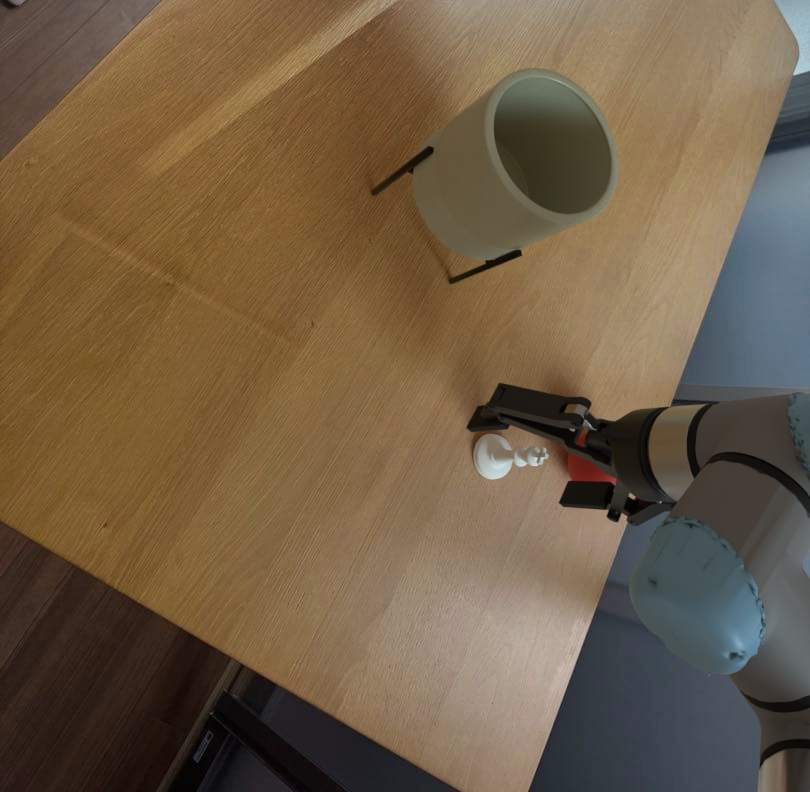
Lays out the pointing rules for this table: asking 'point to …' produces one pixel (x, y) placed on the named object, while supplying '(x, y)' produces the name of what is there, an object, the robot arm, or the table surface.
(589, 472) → the tomato
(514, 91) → the planter
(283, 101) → the table surface
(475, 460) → the chess piece
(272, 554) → the table surface
